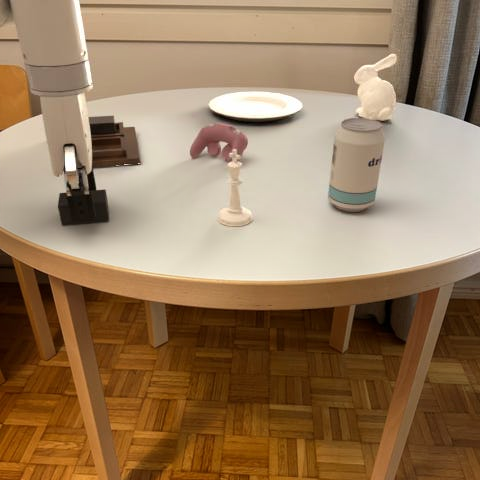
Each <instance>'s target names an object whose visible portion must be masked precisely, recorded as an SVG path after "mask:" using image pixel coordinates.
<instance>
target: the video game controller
mask: <svg viewBox="0 0 480 480" xmlns="http://www.w3.org/2000/svg"><path fill="white" fill-rule="evenodd" d="M221 142H223V143H225V144H226V145H224V147H222V146H221ZM248 143H249V140H248V136H247V134H245V133H244V132H242V131H241V130H240V129H238V128H236V127H235V126H232V125H230V124H226V123H219V122H218V123H210V124H209V123H205V125H204V127H202V128H201V129H200V130H199V132H198V133H197V135H196V138H195V139H194V141H193V142H192V143H191V146H190V149H189V155H190V157H191V158H192V159H195V158H197V157H199V156H200V155H201V154H202V153H203V152H204V150H205V149H207V153H208V155H210V156H212V157H218V156H219V155H220V154H221V156H222V158H223V159H225V160H227V164H228V163H229V162H232V157H229V153H232V150H233V149H236V150H237V155H240V156H241V158H242V157H243V154H244V152H245V150H246V149H247V147H248ZM240 160H241V159H239V160H238V159H237V162H240Z"/></svg>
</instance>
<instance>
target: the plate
mask: <svg viewBox="0 0 480 480" xmlns="http://www.w3.org/2000/svg"><path fill="white" fill-rule="evenodd" d="M208 108H209V110H210V111H212V112H213V113H215V114H217V115H218V116H219V115H220V116H223V117H225V118H227V119H231V120H235V121H239V122H248V123H265V122H274V121H278V120H282V119H284V118H287V117H290V116H293V115H295V114H297V113H299V112H301V110H302V108H303V104H302V102H301V101H300V100H298V99H297V98H295V97H293V96H290V95H286V94H282V93H278V92H277V93H276V92H267V91H239V92H231V93H226V94H222V95H219V96H216V97H214V98H212V99H211V100H210V101H209V102H208Z"/></svg>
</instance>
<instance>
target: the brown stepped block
mask: <svg viewBox="0 0 480 480" xmlns="http://www.w3.org/2000/svg"><path fill="white" fill-rule="evenodd" d="M88 118H89V125H90V132H91V142H92V167H93V169H98V168H109V167H108V166H114V167H117V166H116V165H124V164H138V163H141V156H140V155H141V154H140V149H139V144H138V137H137V132H136V126H124V122H122V121H121V122H115V115H100V116H98V115H97V116H88ZM141 164H142V163H141ZM63 171H64V169H63Z"/></svg>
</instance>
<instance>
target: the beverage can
mask: <svg viewBox="0 0 480 480" xmlns="http://www.w3.org/2000/svg"><path fill="white" fill-rule="evenodd" d="M382 127H383V124H382V123H381V121H379V120H372V119H366V118H363V117H351V118H346V119H343V120H342V121H340V126H339V128H338V129H337V130H336V132H335V133H334V137H333V148H332V157H331V165H330V166H331V167H330V175H329V184H328V193H327V195H328V196H327V200H328V201H329V203H331V204H333V206H334V207H335V208H336V209H338V210H340V211H343V212H348V213H358V212H362V211H364V210H366V209H367V208H369V207H371V206H373V204H374V203H375V201H376V196H377V189H378V184H379V177H380V171H381V164H382V160H383V155H384V147H385V141H386V137H385V134H384V131H383V128H382Z"/></svg>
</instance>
